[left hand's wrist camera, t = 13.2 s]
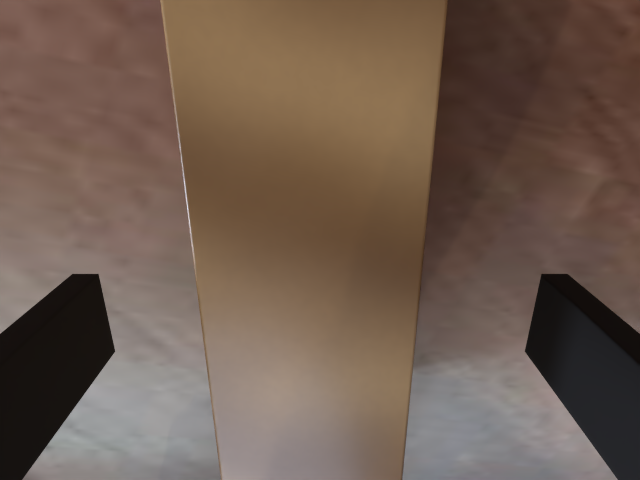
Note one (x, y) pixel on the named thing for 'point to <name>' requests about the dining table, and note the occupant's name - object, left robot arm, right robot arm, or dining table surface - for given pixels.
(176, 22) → the wooden beam
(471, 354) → the dining table surface
